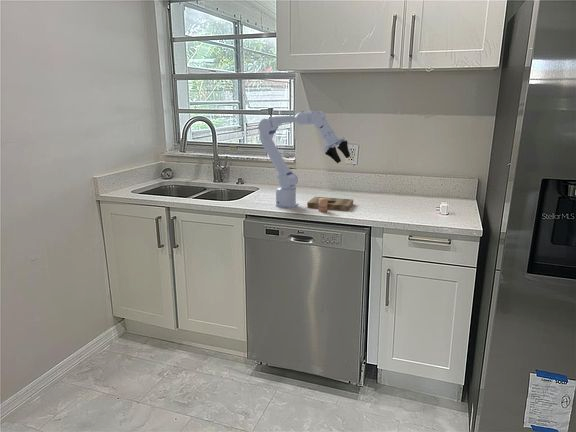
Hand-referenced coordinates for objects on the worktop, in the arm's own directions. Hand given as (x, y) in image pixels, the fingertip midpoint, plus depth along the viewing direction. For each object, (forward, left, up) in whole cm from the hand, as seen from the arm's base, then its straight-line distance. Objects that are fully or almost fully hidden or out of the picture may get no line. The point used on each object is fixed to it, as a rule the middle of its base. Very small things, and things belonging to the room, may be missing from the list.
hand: (344, 159), depth 195 cm
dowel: (-8, -3, -24) cm, 26 cm away
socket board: (-7, +8, -24) cm, 27 cm away
